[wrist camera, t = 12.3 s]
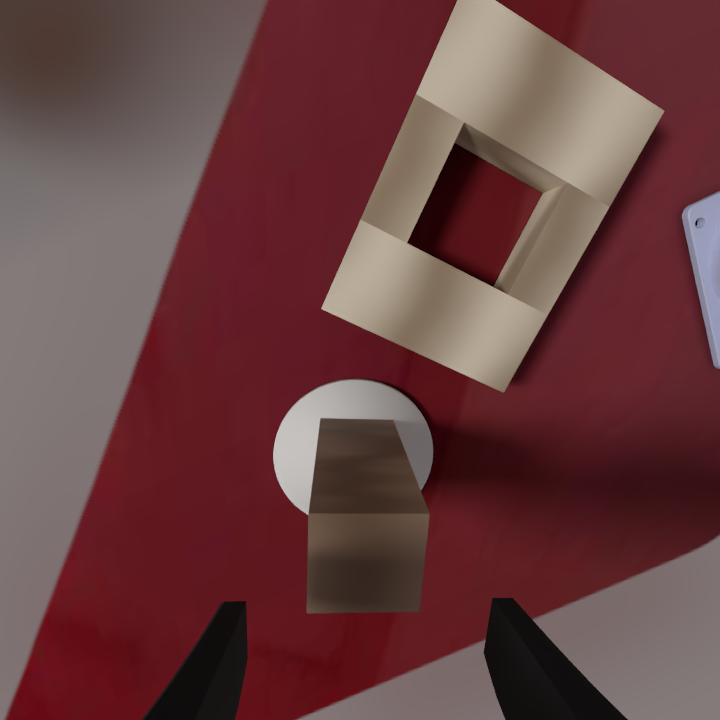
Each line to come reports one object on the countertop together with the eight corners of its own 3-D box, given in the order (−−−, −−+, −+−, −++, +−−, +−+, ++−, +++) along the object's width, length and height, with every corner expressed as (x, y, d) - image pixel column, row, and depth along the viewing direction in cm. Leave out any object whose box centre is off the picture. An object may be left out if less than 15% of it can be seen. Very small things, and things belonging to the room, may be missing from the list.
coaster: (453, 484, 21) (456, 488, 21) (318, 544, 22) (318, 549, 21) (394, 351, 19) (395, 352, 19) (245, 420, 19) (243, 423, 19)
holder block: (627, 129, 17) (664, 111, 15) (487, 381, 20) (503, 392, 18) (450, 17, 16) (466, -19, 14) (323, 305, 18) (321, 308, 16)
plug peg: (393, 419, 20) (429, 513, 12) (388, 484, 20) (419, 611, 13) (320, 418, 19) (308, 513, 12) (318, 483, 20) (306, 613, 12)
